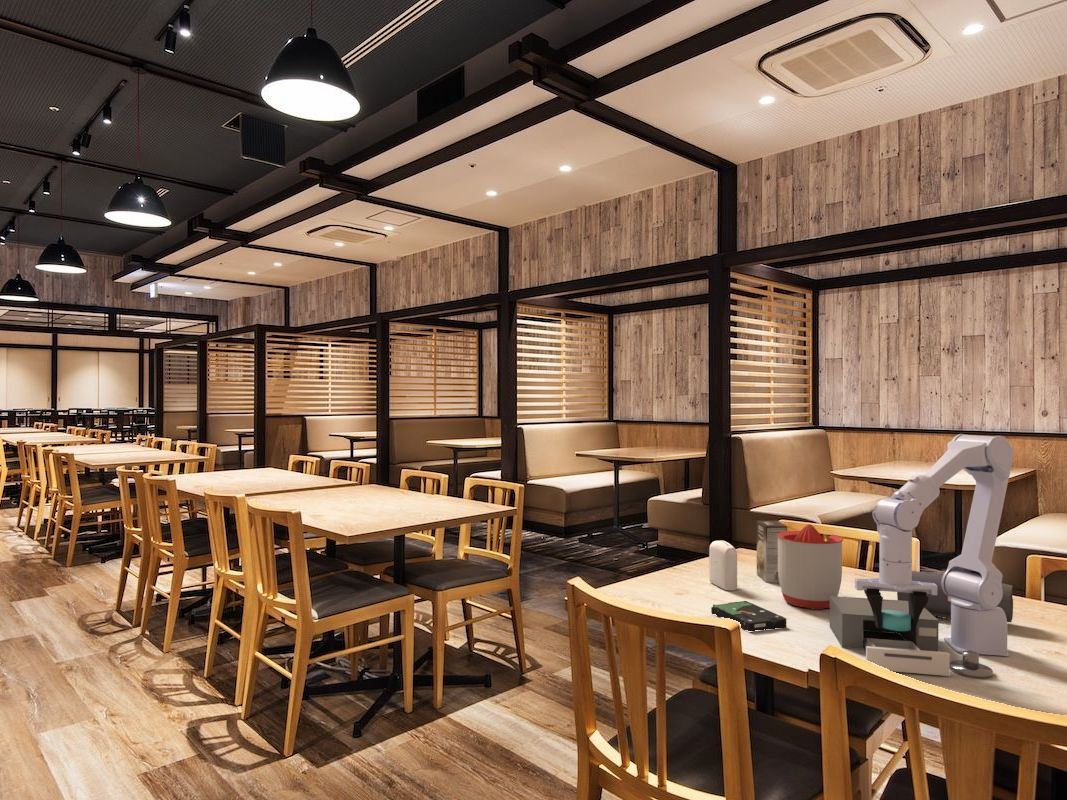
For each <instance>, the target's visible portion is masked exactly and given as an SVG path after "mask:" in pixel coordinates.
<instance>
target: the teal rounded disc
mask: <svg viewBox="0 0 1067 800" xmlns="http://www.w3.org/2000/svg"><path fill="white" fill-rule="evenodd" d="M881 615H882V627H883V628H886V629H889V630H894V631H909V630H911V615H910V614H908V613H905V612H901V611H896V610H882V612H881Z"/></svg>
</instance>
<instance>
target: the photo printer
mask: <svg viewBox="0 0 1067 800" xmlns="http://www.w3.org/2000/svg"><path fill="white" fill-rule="evenodd" d="M708 549H709V551H708V552H709V566H708V567H709V570H708V571H709V582H710V583H711V584H714V585H715V586H717V587H719V588H721V589H723V590H725V591H736V590H737V589H738V551H737V550H736V548H735V547H734V546H733V545H732V544H731V543H729V542H727V541H725V540H714V541H712V542H711V543H710V545H709V548H708Z"/></svg>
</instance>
